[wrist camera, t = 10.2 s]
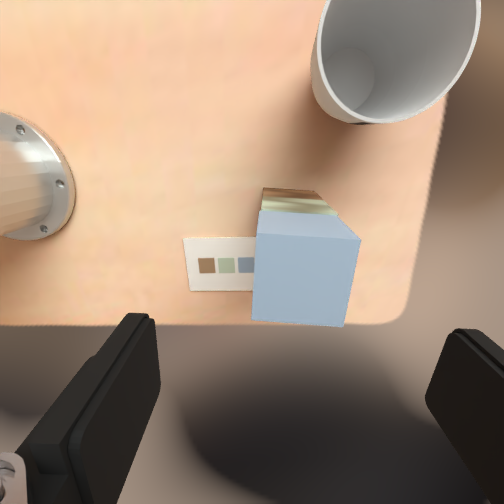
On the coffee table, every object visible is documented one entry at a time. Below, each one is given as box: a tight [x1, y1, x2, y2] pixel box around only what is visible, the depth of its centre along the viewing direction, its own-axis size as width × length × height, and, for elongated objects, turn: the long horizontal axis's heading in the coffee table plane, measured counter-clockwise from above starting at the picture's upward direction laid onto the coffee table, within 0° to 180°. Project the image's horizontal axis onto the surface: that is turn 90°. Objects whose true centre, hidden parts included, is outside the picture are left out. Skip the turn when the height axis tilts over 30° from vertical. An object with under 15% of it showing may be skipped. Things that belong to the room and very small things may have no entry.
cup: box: [311, 0, 481, 125], centre depth 19 cm, size 8×8×10 cm
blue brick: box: [251, 211, 361, 327], centre depth 16 cm, size 5×5×5 cm
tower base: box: [261, 188, 338, 216], centre depth 23 cm, size 5×5×10 cm
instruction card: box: [183, 236, 256, 291], centre depth 30 cm, size 9×6×1 cm
